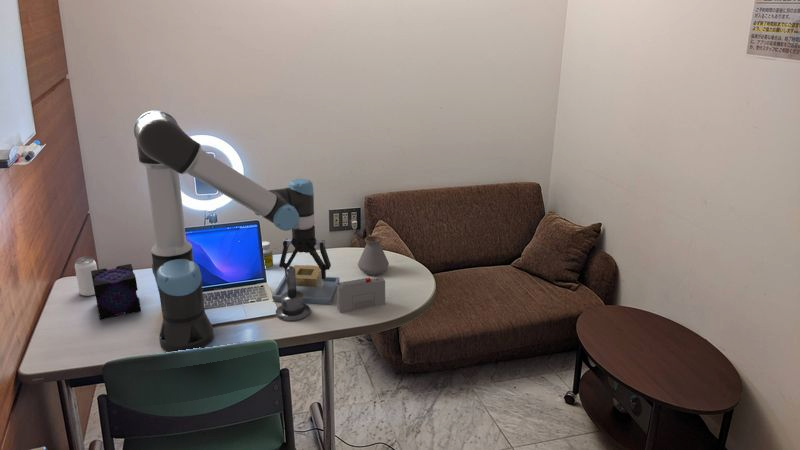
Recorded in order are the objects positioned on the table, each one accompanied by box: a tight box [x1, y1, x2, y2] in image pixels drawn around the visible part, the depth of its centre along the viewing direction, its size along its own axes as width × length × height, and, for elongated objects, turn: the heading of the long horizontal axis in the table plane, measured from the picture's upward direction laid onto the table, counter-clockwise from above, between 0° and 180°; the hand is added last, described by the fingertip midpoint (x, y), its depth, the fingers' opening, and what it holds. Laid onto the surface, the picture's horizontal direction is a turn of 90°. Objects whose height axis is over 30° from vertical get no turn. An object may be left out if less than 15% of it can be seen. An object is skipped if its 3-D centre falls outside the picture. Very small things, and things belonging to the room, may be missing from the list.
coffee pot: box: [357, 219, 390, 276], centre depth 224 cm, size 21×12×15 cm, turn 13°
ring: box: [293, 264, 320, 287], centre depth 204 cm, size 12×10×3 cm
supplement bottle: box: [261, 241, 274, 270], centre depth 223 cm, size 5×5×10 cm
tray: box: [271, 275, 340, 306], centre depth 206 cm, size 17×20×2 cm
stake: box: [275, 265, 311, 322], centre depth 189 cm, size 11×11×16 cm
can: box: [74, 256, 98, 297], centre depth 201 cm, size 6×6×12 cm
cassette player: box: [336, 276, 386, 314], centre depth 195 cm, size 16×3×10 cm, turn 112°
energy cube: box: [91, 263, 142, 321], centre depth 192 cm, size 12×12×12 cm
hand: (306, 286), depth 204 cm, fingers closed on ring, 10 cm apart
